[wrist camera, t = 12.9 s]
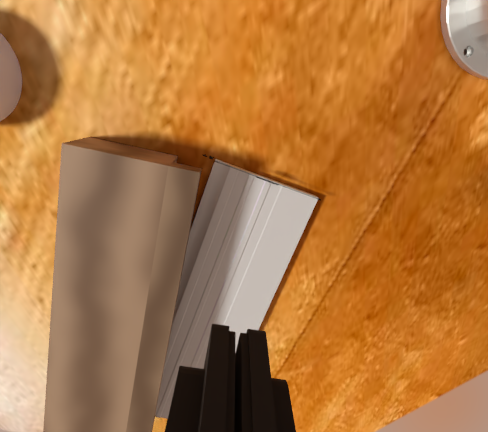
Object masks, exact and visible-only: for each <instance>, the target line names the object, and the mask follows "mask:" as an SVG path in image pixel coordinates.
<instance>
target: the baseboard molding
mask: <svg viewBox="0 0 488 432" xmlns="http://www.w3.org/2000/svg"><path fill="white" fill-rule="evenodd" d="M203 156H205V155H203ZM206 157H207V156H206ZM209 158H210V159H213V158H214V157H211V156H210V157H209ZM317 200H320V199H319V198H318V197H317V196H315V195H313V194H310V193H308V192H305V191H302V190H299V189H297V188H294V187H291V186H289V185H286V184H283V183H280V182H278V181H275V180H272V179H270V178H267V177H264V176H261V175H259V174H256V173H253V172H251V171H248V170H245V169H242V168H240V167H237V166H234V165H232V164H229V163H226V162H223V161H221V160H218V159H215V161H214V164H213V167H212V170H211V173H210V175H209V178H208V181H207V184H206V187H205V190H204V192H203V195H202V198H201V201H200V204H199V207H198V209H197V212H196V215H195V218H194V221H193V224H192V227H191V229H190V234H189V239H188V244H187V249H186V255H185V260H184V265H183V271H182V276H181V281H180V286H179V292H178V297H177V302H176V307H175V313H174V318H173V323H172V329H171V334H170V339H169V344H168V350H167V355H166V360H165V365H164V371H163V376H162V381H161V387H160V392H159V397H158V402H157V408H156V413H155V416H156V417H163V418H167V419H168V416H169V411H170V406H171V402H172V397H173V393H174V388H175V384H176V379H177V375H178V370H179V366H186V367H193V368H201V369H204V363H205V358H206V353H207V347H208V342H209V337H210V331H211V326H212V324H219V325H226V326H229V331H233V332H235V333H236V339H235V354H236V349H237V345H238V340H239V336H240V333H246V332H247V329H253V330H259V328H260V325H261V323H262V321H263V319H264V317H265V314H266V312H267V310H268V308H269V306H270V303H271V301H272V299H273V297H274V295H275V292H276V290H277V288H278V286H279V284H280V282H281V279H282V277H283V275H284V273H285V271H286V268H287V266H288V264H289V262H290V260H291V257H292V255H293V253H294V251H295V249H296V246H297V244H298V242H299V240H300V238H301V236H302V233H303V231H304V229H305V227H306V225H307V222H308V220H309V218H310V216H311V214H312V211H313V209H314V207H315V205H316V203H317Z"/></svg>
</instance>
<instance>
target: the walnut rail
mask: <svg viewBox="0 0 488 432" xmlns="http://www.w3.org/2000/svg"><path fill="white" fill-rule="evenodd" d="M177 159H178V156H176V155H171V154H167V153H162V152H157V151H153V150H148V149H143V148H139V147H134V146H130V145H125V144H120V143H116V142H111V141H106V140H102V139H97V138H92V137H87V138H83V139H79V140H74V141H70V142H66V143H62V151H61V166H60V182H59V197H58V213H57V228H56V244H55V260H54V275H53V291H52V306H51V322H50V338H49V353H48V369H47V384H46V400H45V415H44V431H43V432H152V429H153V423H154V418H155V413H156V408H157V402H158V397H159V392H160V387H161V381H162V376H163V371H164V365H165V360H166V355H167V350H168V344H169V339H170V334H171V329H172V323H173V318H174V313H175V307H176V302H177V297H178V292H179V286H180V281H181V276H182V271H183V265H184V260H185V255H186V249H187V244H188V239H189V234H190V228H191V223H192V218H193V213H194V207H195V202H196V197H197V191H198V186H199V181H200V176H201V170H202V168H198V167H193V166H188V165H184V164H179V163H177Z"/></svg>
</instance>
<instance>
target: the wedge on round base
mask: <svg viewBox="0 0 488 432" xmlns="http://www.w3.org/2000/svg"><path fill="white" fill-rule="evenodd" d="M21 91H22V74H21V68H20V65H19V62H18V59H17V57H16V55H15V52H14V51H13V49H12V47H11V46H10V44H9V43H8V41H7V40H6V39H5V37H4V36H3V35H2V34H1V33H0V121H2V120H3V119H5V118H6V117H7V116H9V115H10V114H11V113H12V111H13V110H14V109H15V107H16V105H17V104H18V101H19V99H20V96H21Z"/></svg>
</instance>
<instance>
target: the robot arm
mask: <svg viewBox="0 0 488 432" xmlns="http://www.w3.org/2000/svg"><path fill="white" fill-rule="evenodd" d="M441 27H442V34H443V37H444V40H445V44H446V47H447V48H448V50H449V52H450V54H451V56H452V58H453V59H454V60H455V61H456V62H457V63H458V65H459V66H460V67H461V68H463V69H464V70H465V71H467V72H468V73H470V74H471V75H474V76H476V77H479V78H481V79H486V80H488V0H442V1H441ZM235 339H236V333H235V332H233V331H229V326H226V325H219V324H212V326H211V331H210V337H209V342H208V347H207V353H206V358H205V363H204V369H201V368H193V367H186V366H179V370H178V375H177V379H176V384H175V388H174V393H173V397H172V402H171V406H170V411H169V416H168V420H167V425H166V429H165V432H296V430H295V424H294V418H293V412H292V406H291V401H290V395H289V389H288V384H287V382H286V380H281V379H274V378H271V373H270V365H269V356H268V347H267V339H266V332H265V331H260V330H253V329H247V332H246V333H240V336H239V340H238V345H237V349H236V354H235Z"/></svg>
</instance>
